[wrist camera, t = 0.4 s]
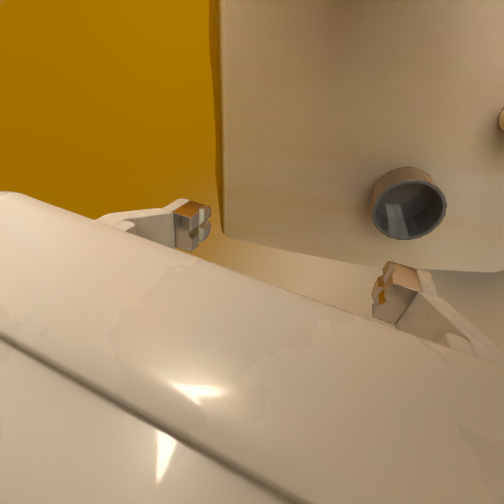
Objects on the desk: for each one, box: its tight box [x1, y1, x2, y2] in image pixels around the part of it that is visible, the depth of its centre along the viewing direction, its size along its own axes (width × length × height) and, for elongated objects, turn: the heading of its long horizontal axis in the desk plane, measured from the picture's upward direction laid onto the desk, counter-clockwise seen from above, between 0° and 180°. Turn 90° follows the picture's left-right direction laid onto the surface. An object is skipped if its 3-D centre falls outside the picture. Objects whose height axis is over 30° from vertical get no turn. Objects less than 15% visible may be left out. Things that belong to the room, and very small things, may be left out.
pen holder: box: [371, 167, 447, 240], centre depth 46 cm, size 11×11×9 cm
